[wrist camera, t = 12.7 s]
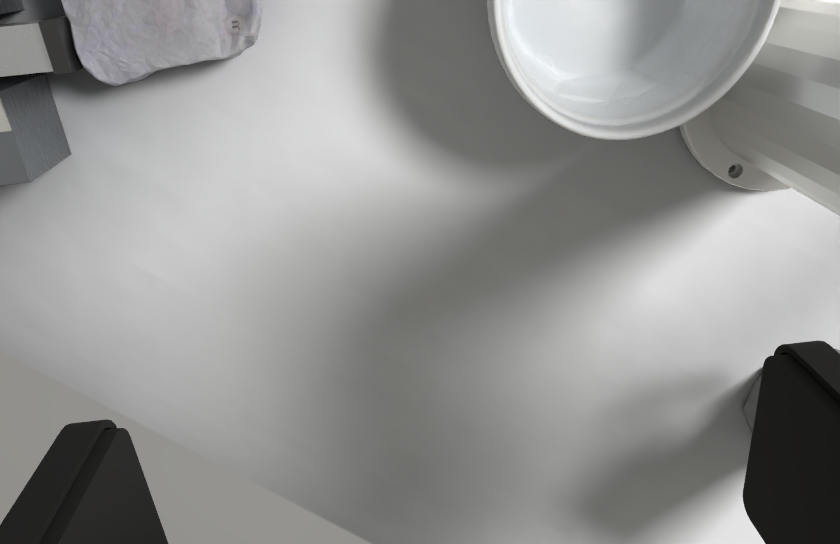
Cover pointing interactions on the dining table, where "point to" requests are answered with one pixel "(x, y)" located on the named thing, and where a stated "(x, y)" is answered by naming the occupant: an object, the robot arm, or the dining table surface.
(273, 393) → the dining table surface
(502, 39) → the ramekin
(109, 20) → the stone block
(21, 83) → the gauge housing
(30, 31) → the bar with dark endcap
